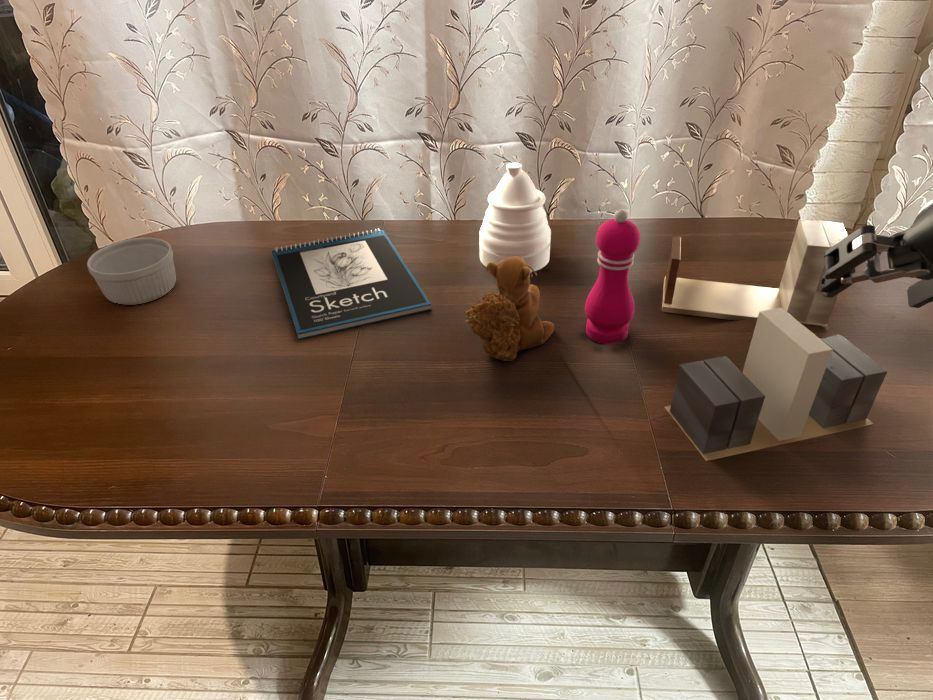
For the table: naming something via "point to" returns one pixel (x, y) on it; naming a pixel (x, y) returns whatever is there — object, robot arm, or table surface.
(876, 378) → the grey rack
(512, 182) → the honey pot
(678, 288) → the white rack
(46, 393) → the table surface
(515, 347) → the stuffed squirrel
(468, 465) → the table surface
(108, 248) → the ramekin
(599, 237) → the pepper mill
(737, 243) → the table surface
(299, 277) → the sketchbook
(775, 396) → the white book
